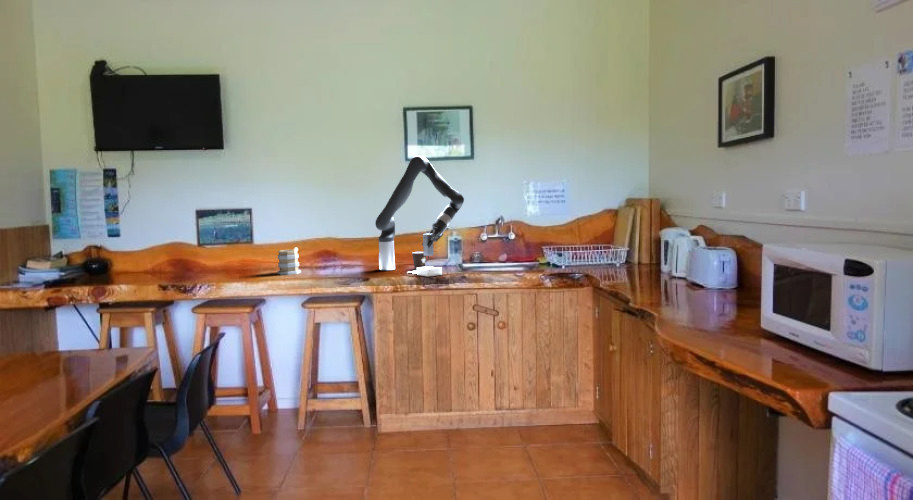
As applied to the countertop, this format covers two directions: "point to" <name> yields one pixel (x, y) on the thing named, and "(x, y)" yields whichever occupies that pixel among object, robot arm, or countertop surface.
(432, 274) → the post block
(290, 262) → the tankard
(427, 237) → the grey rectangular block
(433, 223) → the robot arm
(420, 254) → the coffee mug
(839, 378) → the countertop surface
